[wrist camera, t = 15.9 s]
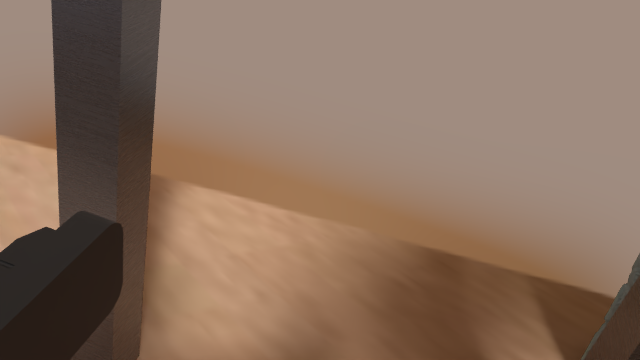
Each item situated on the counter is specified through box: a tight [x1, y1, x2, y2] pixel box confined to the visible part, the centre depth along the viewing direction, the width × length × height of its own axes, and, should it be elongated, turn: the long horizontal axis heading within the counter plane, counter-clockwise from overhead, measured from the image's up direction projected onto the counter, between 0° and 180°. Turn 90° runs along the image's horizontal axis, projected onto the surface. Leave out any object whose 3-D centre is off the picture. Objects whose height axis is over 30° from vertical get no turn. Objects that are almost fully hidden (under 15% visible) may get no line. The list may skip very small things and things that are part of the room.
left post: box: [51, 0, 161, 360], centre depth 25 cm, size 3×3×22 cm
